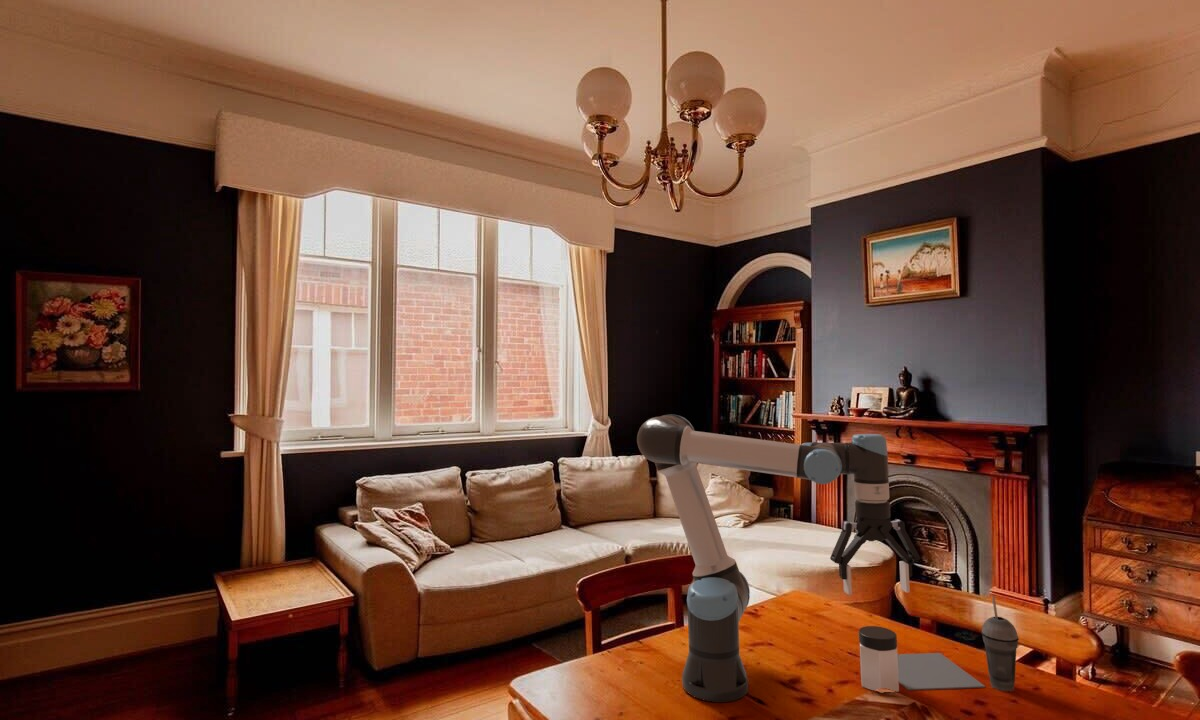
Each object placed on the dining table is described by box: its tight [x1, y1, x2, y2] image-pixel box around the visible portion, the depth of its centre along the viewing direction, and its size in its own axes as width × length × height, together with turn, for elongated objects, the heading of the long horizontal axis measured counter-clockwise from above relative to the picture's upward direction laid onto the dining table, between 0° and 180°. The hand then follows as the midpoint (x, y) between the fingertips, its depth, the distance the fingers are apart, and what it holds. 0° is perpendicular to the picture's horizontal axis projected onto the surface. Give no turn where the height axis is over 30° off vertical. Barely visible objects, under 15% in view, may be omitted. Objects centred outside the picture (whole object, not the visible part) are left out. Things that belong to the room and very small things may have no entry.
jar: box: [858, 625, 900, 693], centre depth 145 cm, size 9×8×12 cm
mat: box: [897, 652, 986, 691], centre depth 151 cm, size 18×18×1 cm
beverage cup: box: [981, 595, 1019, 692], centre depth 143 cm, size 7×7×20 cm
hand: (876, 592), depth 146 cm, fingers open, 13 cm apart
